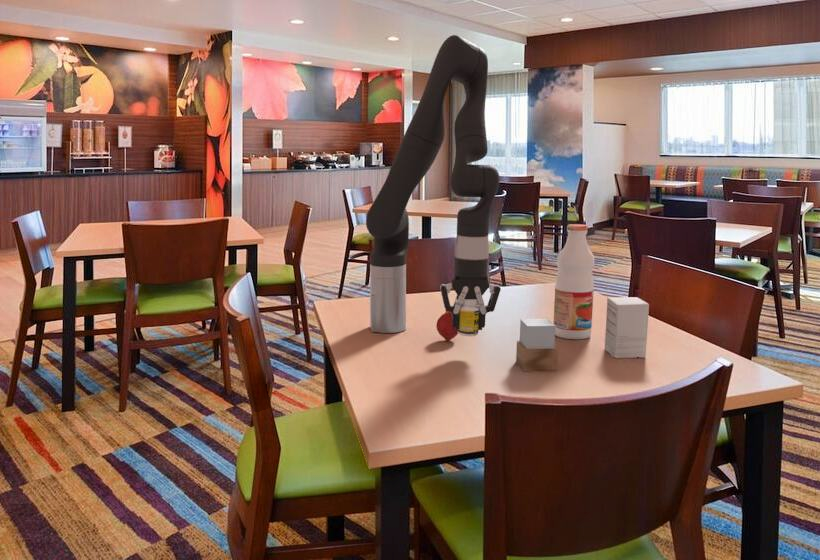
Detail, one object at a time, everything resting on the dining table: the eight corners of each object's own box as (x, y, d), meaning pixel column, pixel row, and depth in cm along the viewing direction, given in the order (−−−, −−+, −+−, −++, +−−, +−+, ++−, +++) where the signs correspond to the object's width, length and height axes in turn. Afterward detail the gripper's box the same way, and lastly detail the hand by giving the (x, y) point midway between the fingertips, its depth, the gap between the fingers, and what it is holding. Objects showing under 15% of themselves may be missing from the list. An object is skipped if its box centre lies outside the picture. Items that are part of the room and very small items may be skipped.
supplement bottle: (476, 337, 150) (478, 301, 148) (455, 335, 151) (457, 299, 149) (479, 332, 154) (481, 296, 153) (459, 330, 155) (460, 295, 154)
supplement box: (634, 348, 158) (637, 296, 156) (646, 358, 151) (650, 303, 149) (603, 348, 158) (606, 296, 156) (613, 358, 151) (617, 304, 148)
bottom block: (524, 372, 142) (525, 350, 141) (516, 362, 149) (516, 340, 148) (556, 371, 142) (557, 349, 141) (546, 361, 149) (547, 339, 148)
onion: (445, 336, 168) (446, 305, 167) (464, 340, 165) (465, 308, 163) (431, 341, 164) (432, 309, 162) (450, 345, 160) (451, 313, 159)
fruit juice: (558, 328, 176) (563, 222, 170) (595, 333, 171) (601, 224, 166) (548, 337, 168) (553, 225, 162) (585, 342, 163) (592, 228, 158)
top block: (526, 349, 141) (527, 326, 140) (519, 341, 147) (520, 319, 146) (554, 348, 142) (555, 325, 141) (546, 340, 148) (547, 318, 147)
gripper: (441, 257, 145) (438, 333, 148) (506, 258, 146) (502, 334, 149) (437, 252, 152) (435, 324, 156) (500, 253, 153) (496, 325, 156)
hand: (468, 328), depth 152 cm, fingers closed on supplement bottle, 4 cm apart
